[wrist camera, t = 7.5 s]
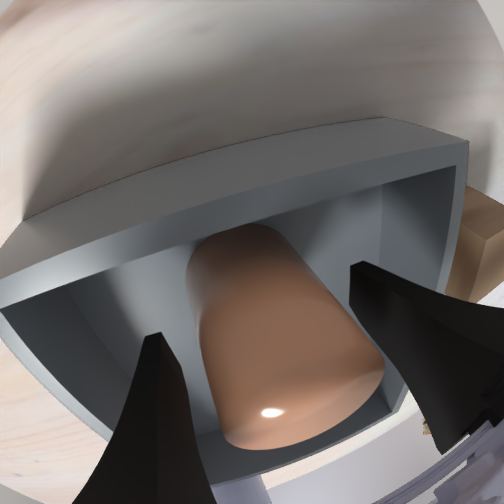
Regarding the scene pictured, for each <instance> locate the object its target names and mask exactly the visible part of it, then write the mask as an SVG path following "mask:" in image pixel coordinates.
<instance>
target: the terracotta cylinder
mask: <svg viewBox="0 0 504 504" xmlns="http://www.w3.org/2000/svg"><path fill="white" fill-rule="evenodd" d="M185 284H186V290H187V295H188V300H189V304H190V309H191V313H192V318H193V322H194V327H195V331H196V335H197V339H198V344H199V348H200V352H201V356H202V360H203V364H204V368H205V372H206V375H207V379H208V383H209V387H210V390H211V394H212V398H213V401H214V405H215V408H216V412H217V415H218V419H219V422H220V426H221V429H222V432H223V435H224V437H225V439H226V440H227V441H228V442H229V443H230V444H232V445H234V446H236V447H239V448H243V449H250V450H267V449H275V448H280V447H285V446H289V445H292V444H296V443H299V442H302V441H304V440H307V439H310V438H312V437H314V436H316V435H319V434H321V433H323V432H325V431H327V430H328V429H330V428H332V427H334V426H335V425H337V424H338V423H340V422H341V421H343V420H344V419H346V418H347V417H349V416H350V415H351V414H352V413H354V412H355V411H356V410H357V409H358V408H359V407H361V406H362V405H363V404H364V403H365V402H366V401H367V399H368V398H369V397H370V396H371V395H372V394H373V392H374V391H375V390H376V388H377V387H378V385H379V383H380V381H381V380H382V377H383V375H384V371H385V361H384V358H383V357H382V355H381V354H380V352H379V351H378V350H377V349H376V347H375V346H374V345H373V344H372V342H371V341H370V340H369V339H368V337H367V336H366V335H365V333H364V332H363V331H362V330H361V329H360V327H359V326H358V325H357V324H356V322H355V321H354V320H353V319H352V317H351V316H350V315H349V314H348V312H347V311H346V310H345V309H344V308H343V306H342V305H341V304H340V303H339V301H338V300H337V299H336V298H335V297H334V295H333V294H332V293H331V292H330V291H329V289H328V288H327V287H326V286H325V284H324V283H323V282H322V281H321V280H320V278H319V277H318V276H317V275H316V274H315V273H314V271H313V270H312V269H311V268H310V267H309V265H308V264H307V263H306V262H305V261H304V259H303V258H302V257H301V256H300V255H299V254H298V252H297V251H296V250H295V249H294V248H293V247H292V245H291V244H290V243H289V242H288V241H287V240H286V238H285V237H284V236H283V235H282V234H280V233H279V232H278V231H276V230H275V229H272V228H270V227H268V226H265V225H261V224H255V223H247V224H244V225H241V226H237V227H234V228H231V229H228V230H225V231H222V232H218V233H215V234H212V235H211V236H209V237H208V238H207V239H206V240H204V241H203V242H202V243H201V244H200V245H199V246H198V248H197V249H196V250H195V252H194V253H193V254H192V256H191V258H190V260H189V262H188V265H187V269H186V274H185Z"/></svg>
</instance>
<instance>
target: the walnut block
mask: <svg viewBox="0 0 504 504" xmlns="http://www.w3.org/2000/svg"><path fill="white" fill-rule="evenodd" d="M503 281H504V205H503V204H501V203H499V202H497V201H496V200H494V199H492V198H490V197H488V196H486V195H484V194H483V193H481V192H479V191H477V190H475V189H473V188H471V187H469V186H467V187H465V195H464V203H463V210H462V216H461V222H460V228H459V233H458V238H457V243H456V248H455V253H454V257H453V262H452V266H451V270H450V274H449V278H448V282H447V285H446V289H445V293H444V294H445V295H447V296H450V297H454V298H457V299H460V300H464V301H468V302H472V303H477V302H478V301H479V300H481V299H482V298H483V297H484V296H486V295H487V294H488V293H489V292H491V291H492V290H493V289H494V288H496V287H497V286H498V285H499V284H500V283H502V282H503Z"/></svg>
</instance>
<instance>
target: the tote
mask: <svg viewBox="0 0 504 504" xmlns="http://www.w3.org/2000/svg"><path fill="white" fill-rule="evenodd" d="M468 153H469V141H467V140H464V139H461V138H458V137H455V136H452V135H449V134H446V133H443V132H439V131H436V130H433V129H429V128H426V127H422V126H419V125H415V124H411V123H407V122H403V121H399V120H395V119H391V118H387V117H380V118H371V119H363V120H356V121H349V122H342V123H336V124H329V125H323V126H318V127H312V128H307V129H301V130H296V131H291V132H286V133H281V134H276V135H272V136H267V137H263V138H258V139H254V140H250V141H246V142H242V143H238V144H234V145H230V146H226V147H222V148H218V149H214V150H211V151H207V152H204V153H200V154H197V155H193V156H190V157H186V158H183V159H180V160H177V161H173V162H170V163H167V164H164V165H161V166H158V167H155V168H152V169H149V170H146V171H143V172H140V173H137V174H134V175H131V176H129V177H126V178H123V179H120V180H118V181H115V182H112V183H110V184H107V185H104V186H102V187H99V188H97V189H94V190H92V191H89V192H87V193H84V194H82V195H79V196H77V197H75V198H72V199H70V200H68V201H65V202H63V203H61V204H58V205H56V206H54V207H52V208H50V209H47V210H45V211H43V212H41V213H39V214H37V215H34V216H32V217H30V218H28V219H26V220H24V221H22V222H21V223H20V224H19V225H18V227H17V228H16V229H15V230H14V231H13V233H12V234H11V235H10V236H9V238H8V239H7V240H6V242H5V243H4V244H3V245H2V247H1V248H0V338H1V340H2V341H3V342H4V343H5V345H6V346H7V347H8V348H9V349H10V351H11V352H12V353H13V354H14V355H15V356H16V358H17V359H18V360H19V361H20V362H21V363H22V364H23V365H24V367H25V368H26V369H27V370H28V371H29V372H30V373H31V374H32V375H33V376H34V377H35V378H36V379H37V380H38V381H39V382H40V383H41V384H42V385H43V386H44V387H45V388H46V389H47V390H48V391H49V392H50V393H51V394H52V395H53V396H54V397H55V398H56V399H57V400H58V401H59V402H60V403H61V404H63V405H64V406H65V407H66V408H67V409H68V410H69V411H70V412H72V413H73V414H74V415H75V416H76V417H77V418H79V419H80V420H81V421H82V422H83V423H85V424H86V425H87V426H88V427H89V428H91V429H92V430H93V431H95V432H96V433H97V434H98V435H100V436H101V437H102V438H104V439H105V440H106V441H108V442H109V441H110V439H111V437H112V435H113V432H114V430H115V428H116V425H117V423H118V420H119V418H120V415H121V412H122V410H123V407H124V404H125V401H126V398H127V395H128V392H129V389H130V386H131V383H132V379H133V376H134V373H135V369H136V366H137V362H138V359H139V355H140V351H141V347H142V344H143V340H144V338H145V336H147V335H151V334H154V333H157V332H162V334H163V336H164V337H165V339H166V341H167V343H168V344H169V346H170V348H171V350H172V351H173V353H174V355H175V356H176V358H177V360H178V362H179V363H180V365H181V367H182V371H183V375H184V379H185V382H186V386H187V390H188V396H189V402H190V408H191V415H192V421H193V426H194V432H195V438H196V443H197V447H198V451H199V455H200V458H201V461H202V464H203V467H204V470H205V473H206V476H207V479H208V481H209V484H210V487H211V488H213V487H217V486H221V485H225V484H229V483H233V482H237V481H240V480H244V479H247V478H251V477H254V476H257V475H260V474H263V473H266V472H269V471H272V470H275V469H278V468H281V467H284V466H286V465H289V464H292V463H294V462H297V461H300V460H302V459H305V458H307V457H309V456H312V455H314V454H317V453H319V452H321V451H324V450H326V449H328V448H330V447H332V446H335V445H337V444H339V443H341V442H343V441H345V440H347V439H349V438H351V437H353V436H355V435H357V434H359V433H361V432H363V431H365V430H367V429H369V428H370V427H372V426H374V425H376V424H378V423H379V422H381V421H383V420H385V419H386V418H388V417H390V416H392V415H393V414H395V413H397V412H398V411H399V409H400V407H401V405H402V403H403V401H404V398H405V396H406V394H407V392H408V390H409V388H408V386H407V385H406V383H405V381H404V380H403V378H402V376H401V375H400V373H399V372H398V370H397V369H396V367H395V366H394V365H393V363H392V362H391V361H390V360H389V358H388V357H387V356H386V355H385V353H384V352H383V351H382V350H381V349H380V347H379V346H378V345H377V344H376V342H375V341H374V340H373V339H372V338H371V336H370V335H369V334H368V333H367V331H366V330H365V329H364V328H363V327H362V325H361V324H360V322H359V321H358V319H357V318H356V316H355V314H354V313H353V311H352V309H351V308H350V306H349V285H350V265H353V264H355V263H358V262H360V261H363V260H364V261H366V262H369V263H371V264H373V265H376V266H378V267H380V268H382V269H384V270H387V271H389V272H391V273H393V274H395V275H398V276H400V277H402V278H404V279H407V280H409V281H411V282H413V283H416V284H418V285H421V286H423V287H425V288H428V289H431V290H433V291H436V292H438V293H441V294H444V293H445V289H446V285H447V282H448V278H449V274H450V270H451V266H452V262H453V257H454V253H455V248H456V243H457V238H458V233H459V228H460V222H461V216H462V210H463V203H464V195H465V187H466V178H467V167H468ZM247 223H255V224H261V225H265V226H268V227H270V228H272V229H275V230H276V231H278V232H279V233H280V234H282V235H283V236H284V237H285V238H286V240H287V241H288V242H289V243H290V244H291V245H292V247H293V248H294V249H295V250H296V251H297V252H298V254H299V255H300V256H301V257H302V258H303V259H304V261H305V262H306V263H307V264H308V265H309V267H310V268H311V269H312V270H313V271H314V273H315V274H316V275H317V276H318V277H319V278H320V280H321V281H322V282H323V283H324V284H325V286H326V287H327V288H328V289H329V291H330V292H331V293H332V294H333V295H334V297H335V298H336V299H337V300H338V301H339V303H340V304H341V305H342V306H343V308H344V309H345V310H346V311H347V312H348V314H349V315H350V316H351V317H352V319H353V320H354V321H355V322H356V324H357V325H358V326H359V327H360V329H361V330H362V331H363V332H364V333H365V335H366V336H367V337H368V339H369V340H370V341H371V342H372V344H373V345H374V346H375V347H376V349H377V350H378V351H379V352H380V354H381V355H382V357H383V358H384V361H385V371H384V375H383V377H382V380H381V381H380V383H379V385H378V387H377V388H376V390H375V391H374V392H373V394H372V395H371V396H370V397H369V398H368V399H367V401H366V402H365V403H364V404H363V405H362V406H361V407H359V408H358V409H357V410H356V411H355V412H354V413H352V414H351V415H350V416H349V417H347V418H346V419H344V420H343V421H341V422H340V423H338V424H337V425H335V426H334V427H332V428H330V429H328V430H327V431H325V432H323V433H321V434H319V435H316V436H314V437H312V438H310V439H307V440H304V441H302V442H299V443H296V444H292V445H289V446H285V447H280V448H275V449H267V450H250V449H243V448H239V447H236V446H234V445H232V444H230V443H229V442H228V441H227V440H226V439H225V437H224V435H223V432H222V429H221V426H220V422H219V419H218V415H217V412H216V408H215V405H214V401H213V398H212V394H211V390H210V387H209V383H208V379H207V375H206V372H205V368H204V364H203V360H202V356H201V352H200V348H199V344H198V339H197V335H196V331H195V327H194V322H193V318H192V313H191V309H190V304H189V300H188V295H187V290H186V284H185V274H186V269H187V265H188V262H189V260H190V258H191V256H192V254H193V253H194V252H195V250H196V249H197V248H198V246H199V245H200V244H201V243H202V242H203V241H204V240H206V239H207V238H208V237H209V236H211V235H212V234H215V233H218V232H222V231H225V230H228V229H231V228H234V227H237V226H241V225H244V224H247Z"/></svg>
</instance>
